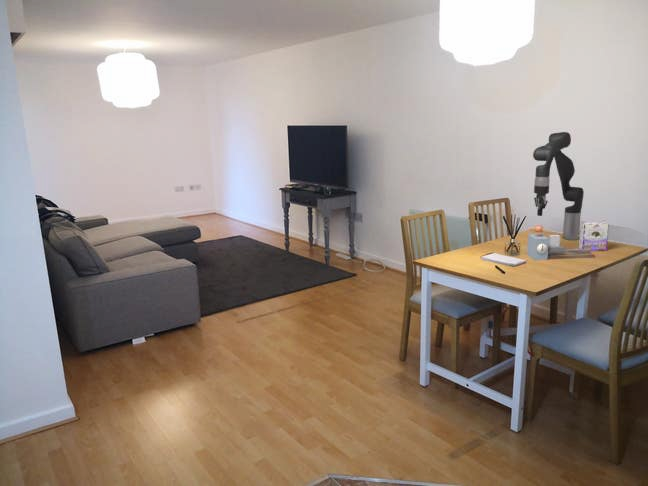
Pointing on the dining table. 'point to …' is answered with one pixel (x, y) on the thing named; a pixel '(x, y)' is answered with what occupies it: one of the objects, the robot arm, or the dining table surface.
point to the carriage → (555, 244)
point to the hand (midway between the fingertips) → (539, 215)
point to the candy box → (593, 235)
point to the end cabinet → (537, 246)
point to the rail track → (571, 254)
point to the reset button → (538, 228)
